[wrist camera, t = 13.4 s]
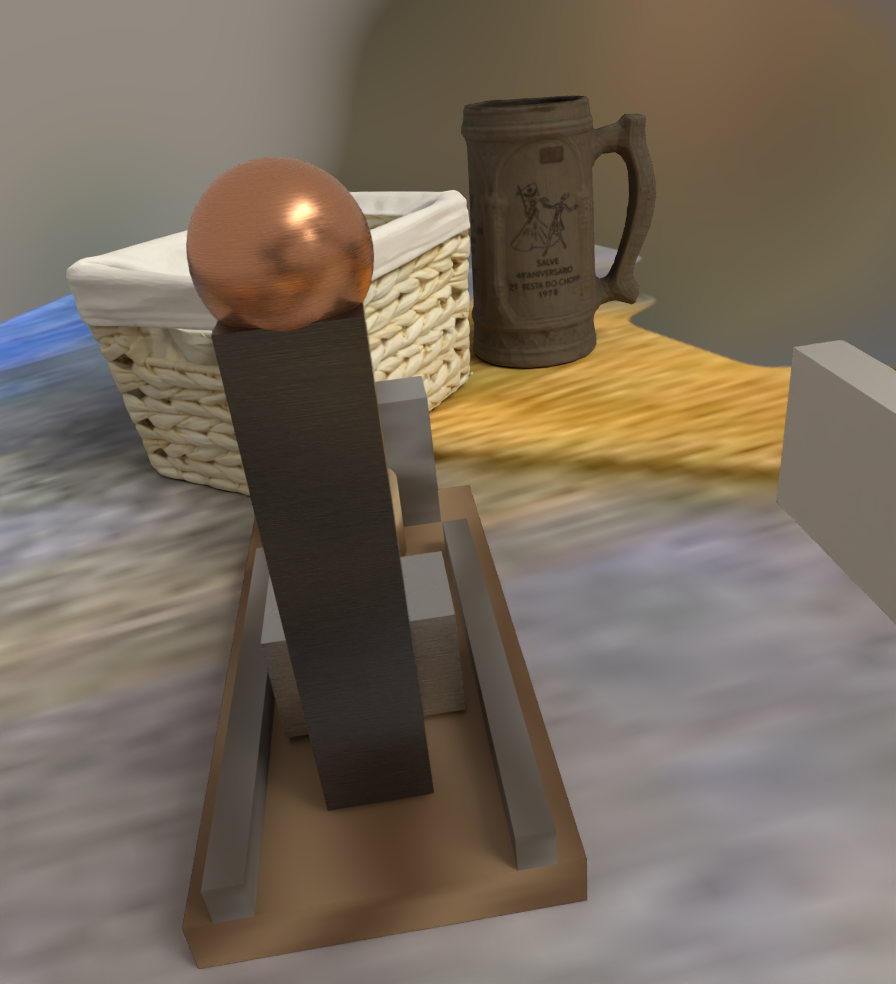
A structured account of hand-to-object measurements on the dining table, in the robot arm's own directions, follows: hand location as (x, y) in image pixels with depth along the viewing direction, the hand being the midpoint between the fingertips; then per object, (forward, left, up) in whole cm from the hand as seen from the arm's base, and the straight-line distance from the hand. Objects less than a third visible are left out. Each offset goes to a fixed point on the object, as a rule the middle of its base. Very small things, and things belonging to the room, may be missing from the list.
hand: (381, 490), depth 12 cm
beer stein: (-16, -55, -18) cm, 60 cm away
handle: (+2, -11, -15) cm, 19 cm away
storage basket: (+5, -44, -18) cm, 48 cm away
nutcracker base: (+2, -16, -18) cm, 24 cm away
